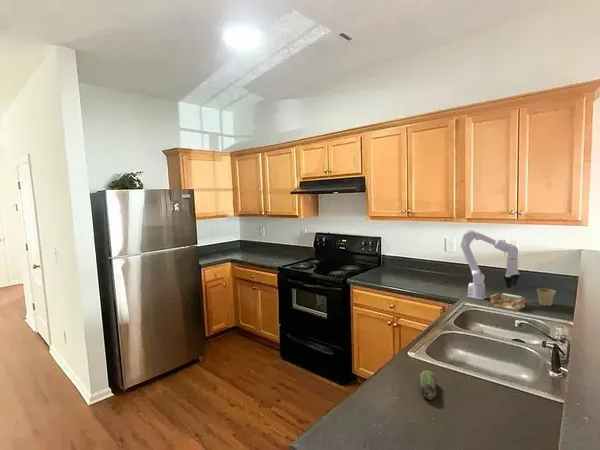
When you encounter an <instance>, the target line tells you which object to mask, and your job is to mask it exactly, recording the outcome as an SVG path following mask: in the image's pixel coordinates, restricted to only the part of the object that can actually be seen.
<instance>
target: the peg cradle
mask: <svg viewBox="0 0 600 450" xmlns="http://www.w3.org/2000/svg"><path fill="white" fill-rule="evenodd" d="M493 305H494V306H493ZM490 306H493V307H498V308H499V307H500V308H503V309H509V310H512V311H517V312H519V311H521V310H522V309H523V308H524V309H525V307H526V297H522V298H521V299H519V300H513V299H508V298H503V297H501V292H496V293H494V294H492V295H490Z"/></svg>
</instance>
